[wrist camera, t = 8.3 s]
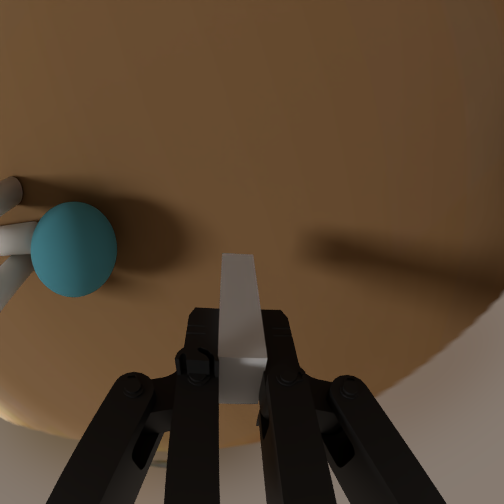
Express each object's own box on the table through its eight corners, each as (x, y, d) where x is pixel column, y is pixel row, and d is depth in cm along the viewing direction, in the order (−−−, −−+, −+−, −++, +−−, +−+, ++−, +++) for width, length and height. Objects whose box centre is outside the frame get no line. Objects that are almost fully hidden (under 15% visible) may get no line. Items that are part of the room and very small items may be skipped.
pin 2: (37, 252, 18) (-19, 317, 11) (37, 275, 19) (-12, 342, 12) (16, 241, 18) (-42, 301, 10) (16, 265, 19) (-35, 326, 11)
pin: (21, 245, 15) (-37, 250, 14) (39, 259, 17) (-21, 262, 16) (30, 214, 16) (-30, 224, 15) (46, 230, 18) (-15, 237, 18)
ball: (20, 219, 15) (92, 194, 19) (45, 298, 17) (111, 269, 20) (18, 218, 11) (116, 186, 15) (55, 324, 12) (142, 284, 16)
